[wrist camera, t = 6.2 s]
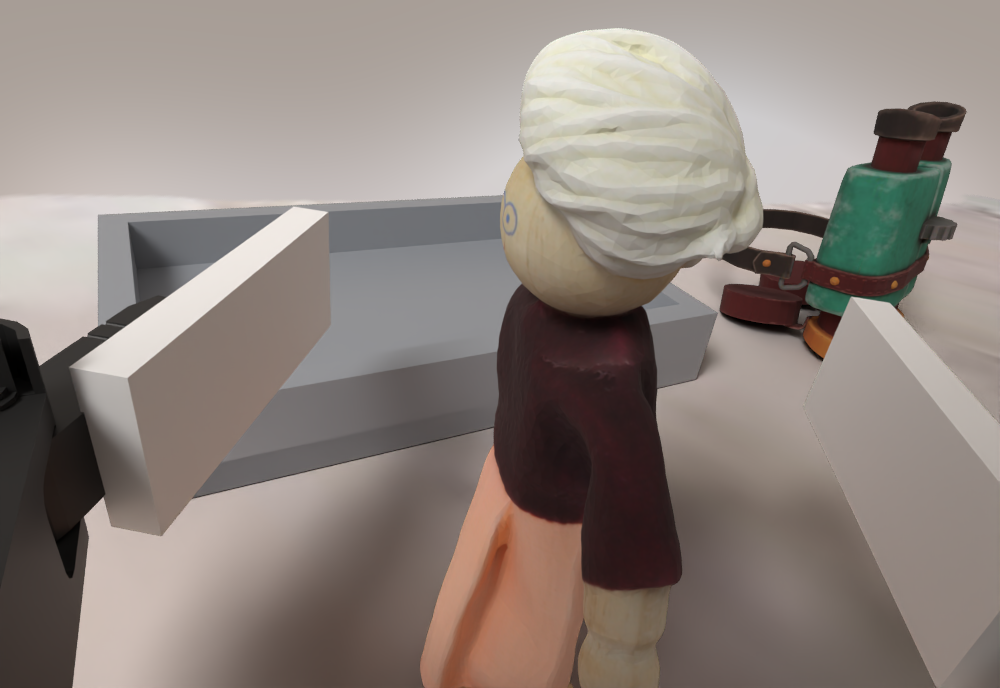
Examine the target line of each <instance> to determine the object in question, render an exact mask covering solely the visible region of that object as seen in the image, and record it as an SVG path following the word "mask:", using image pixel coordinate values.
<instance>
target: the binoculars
mask: <svg viewBox="0 0 1000 688" xmlns="http://www.w3.org/2000/svg"><path fill="white" fill-rule="evenodd" d="M965 114H966V109H965V108H964V107H961V106H960V105H956V104H952V103H948V102H925V103H919V104H916V105H913V106H911V107H909V108H908V109H884V110H880V111H879V112H878V116H877V120H876V124H875V129H874V134H875V135H878V136H879V139H878V143H877V146H876V150H875V153H874V156H873V160H872V162H871V163H865V164H859V165H855V166H852V167H850V168H848V169H847V171H846V174H845V176H844V178H843V180H842V183H841V186H840V189H839V192H838V195H837V198H836V201H835V204H834V207H833V210H832V213H831V216H830V219H827V218H823V217H820V216H816V215H811V214H806V213H802V212H797V211H787V210H776V209H763V227H762V228H777V229H786V230H794V231H798V232H803V233H807V234H811V235H815V236H818V237H821V238H823V240H822V243H821V246H820V249H819V252H818V255H817V258H816V259H814V255H813V253H812V251H811V250H810V249H808V248H807V247H805V246H803V245H801V244H799V243H797V242H792V243H791V244H790V245H789V246H788V247H787V251H786V253H781V252H773V251H765V250H760V249H756V248H752V247H747V248H746V249H744V250H742V251H739V252H736V253H731V254H729V253H725V254H724V255H723V257H722V259H723V260H725V261H727V262H729V263H730V264H732V265H734V266H736V267H739V268H743V269H746V270H750V271H753V272H755V274H761V275H760V284H759V286H754V285H744V284H728V285H725V286H724V290H723V295H722V300H721V305H720V311H721V312H723V313H725V314H727V315H729V316H732V317H736V318H739V319H744V320H748V321H753V322H759V323H766V324H775V325H784V326H786V327H789V328H793V329H797V330H799V329H803V328H805V329H804V332H803V337H804V339H805V341H806V342H807V344H808V345H809V346H810V348H811V349H812V350H814V351H815V352H816V353H817V354H818V355H820V356H821V357H822V358H824V357H825V355H826V353H827V351H828V348H829V346H830V344H831V341H832V339H833V337H834V335H835V332H836V330H837V328H838V325H839V323H840V321H841V319H842V316H843V314H844V312H845V310H846V307H847V305H848V303H849V300H850V298H851V297H857V298H863V299H869V300H875V301H881V302H888V303H890V304H891V305H892V306H893V307H894V308H895V309H896V310H897V311H898V312H899V313H900V315H901V316H902V317H903V318H904V314H903V313H902V312H901V311H900V310H899V309H898V308H897V307H898V304H899V302H900V301H901V299H903V298H904V297H906V296H907V295H908V294H909V293H910V292H911V290H912V289H913V287H914V284H915V281H916V278H917V275H918V274H920V273H921V272H922V271H923V270H924V267H925V265H926V262H927V260H928V259H929V250H928V244H930V242H931V240H942V241H943V240H947V239H949V240H950V239H952V237H953V235H954V232H955V229H956V227H957V223H955V222H953V221H952V220H948V219H945V218H943V217H937V214H938V211H939V207H940V204H941V201H942V198H943V194H944V191H945V188H946V185H947V181H948V178H949V174H950V170H951V161H950V160H949V159H946V158H943V156H944V153H945V150H946V148H947V145H948V142H949V139H950V136H951V133H952V132H957V131H959V129H960V126H961V124H962V122H963V119H964V117H965ZM793 247H794V248H797V249H799V250H801V251H803V252H805V253H806V254H807V256H808V258H807V260H805V262H804V261H795V258H796V256H795V255H793V254H792V250H793ZM808 304H809V305H811V306H812V307H814V308H816V309H819V310H821V311H820V315H819V316H808V317H807V318H806V321H805V323H804V324H803V325H802V324H798V323H797V322H798V317H799V313H800V309H801V305H808Z"/></svg>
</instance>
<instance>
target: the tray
mask: <svg viewBox="0 0 1000 688" xmlns="http://www.w3.org/2000/svg"><path fill="white" fill-rule="evenodd" d="M502 198H503V195H500V196H480V197H458V198H438V199H417V200H396V201H376V202H355V203H334V204H313V205H293V206H272V207H251V208H230V209H210V210H189V211H168V212H148V213H127V214H106V215H98V326H100V325H101V324H104V325H105V324H106V321H107V320H108V319H110V318H111V317H113V316H114V315H116V314H117V313H119V312H120V311H122V310H123V309H125V308H126V307H128V306H130V305H133V304H136V303H138V302H141V301H144V300H147V299H150V298H152V297H155V296H164V297H168V296H169V295H171V294H172V293H174V292H175V291H176V290H178V289H179V288H181V287H182V286H183V285H185V284H186V283H188V282H189V281H190V280H192V279H193V278H195V277H196V276H197V275H199V274H200V273H202V272H203V271H204V270H206V269H207V268H209V267H210V266H211V265H213V264H214V263H216V262H217V261H218V260H220V259H221V258H223V257H224V256H225V255H227V254H228V253H229V252H231V251H232V250H234V249H235V248H236V247H238V246H239V245H241V244H242V243H243V242H245V241H246V240H248V239H249V238H250V237H252V236H253V235H255V234H256V233H257V232H259V231H260V230H262V229H263V228H264V227H266V226H267V225H269V224H270V223H271V222H273V221H274V220H276V219H277V218H278V217H280V216H281V215H283V214H284V213H285V212H287V211H288V210H290V209H291V208H292V207H300V208H306V209H312V210H318V211H325V212H328V215H329V263H330V310H331V325H330V327H329V328H328V329H327V330H326V332H325V333H324V334H323V335H322V337H321V338H320V339H319V340H318V342H317V343H316V344H315V345H314V347H313V348H312V349H311V350H310V352H309V353H308V354H307V355H306V357H305V358H304V359H303V360H302V362H301V363H300V364H299V365H298V367H297V368H296V369H295V370H294V372H293V373H292V374H291V375H290V377H289V378H288V379H287V380H286V382H285V383H284V384H283V385H282V387H281V388H280V389H279V390H278V392H277V393H276V394H275V395H274V397H273V398H272V399H271V400H270V402H269V403H268V404H267V405H266V407H265V408H264V409H263V410H262V412H261V413H260V414H259V415H258V417H257V418H256V419H255V420H254V422H253V423H252V424H251V425H250V427H249V428H248V429H247V430H246V431H245V433H244V434H243V435H242V436H241V438H240V439H239V440H238V441H237V443H236V444H235V445H234V446H233V448H232V449H231V450H230V451H229V453H228V454H227V455H226V456H225V458H224V459H223V460H222V461H221V463H220V464H219V465H218V466H217V468H216V469H215V470H214V471H213V473H212V474H211V475H210V476H209V478H208V479H207V480H206V481H205V483H204V484H203V485H202V486H201V488H200V489H199V490H198V491H197V493H196V494H195V495H194V496H193V498H194V497H198V496H202V495H207V494H211V493H215V492H219V491H224V490H228V489H232V488H236V487H241V486H245V485H249V484H253V483H258V482H262V481H266V480H270V479H274V478H279V477H283V476H287V475H291V474H296V473H300V472H304V471H308V470H313V469H317V468H321V467H325V466H330V465H334V464H338V463H342V462H347V461H351V460H355V459H359V458H364V457H368V456H372V455H376V454H381V453H385V452H389V451H393V450H398V449H402V448H406V447H410V446H414V445H419V444H423V443H427V442H431V441H436V440H440V439H444V438H448V437H453V436H457V435H461V434H465V433H470V432H474V431H478V430H482V429H487V428H491V427H494V422H495V413H496V410H497V406H498V399H499V390H498V376H497V350H498V345H499V335H500V330H501V326H502V322H503V318H504V314H505V311H506V308H507V305H508V303H509V301H510V299H511V297H512V295H513V293H514V292H515V290H516V289H517V288H518V287H519V286H520V285H521V284H522V282H521V281H520V280H519V278H518V277H517V276H516V274H515V273H514V272H513V270H512V268H511V266H510V265H509V263H508V261H507V258H506V255H505V252H504V247H503V243H502V238H501V230H500V211H501V203H502ZM642 307H643V308H644V309H645V310H646V312H647V316H648V320H649V324H650V329H651V332H652V336H653V344H654V351H655V360H656V366H657V388H661V387H665V386H669V385H673V384H677V383H682V382H686V381H690V380H694V379H696V378H697V375H698V372H699V369H700V366H701V363H702V360H703V357H704V354H705V351H706V348H707V345H708V342H709V338H710V335H711V332H712V329H713V326H714V323H715V320H716V317H717V314H718V313H717V312H716V311H714V310H712V309H711V308H709V307H708V306H706V305H705V304H703V303H702V302H700V301H698V300H697V299H695V298H694V297H692V296H691V295H689V294H687V293H686V292H684V291H683V290H681V289H680V288H678V287H676V286H675V285H673V284H672V283H669V284H668V285H667V286H666V288H665V289H664V290H663V291H662V292H661V293H659V294H658V295H657V296H656V297H655V298H654V299H653V300H652V301H651V302H649V303H648V304H645V305H642Z"/></svg>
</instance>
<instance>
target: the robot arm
mask: <svg viewBox="0 0 1000 688" xmlns="http://www.w3.org/2000/svg"><path fill="white" fill-rule="evenodd" d="M330 325H331V310H330V263H329V215H328V212H325V211H318V210H312V209H306V208H300V207H292V208H291V209H290V210H288V211H287V212H285V213H284V214H283V215H281V216H280V217H278V218H277V219H276V220H274V221H273V222H271V223H270V224H269V225H267V226H266V227H264V228H263V229H262V230H260V231H259V232H257V233H256V234H255V235H253V236H252V237H250V238H249V239H248V240H246V241H245V242H243V243H242V244H241V245H239V246H238V247H236V248H235V249H234V250H232V251H231V252H229V253H228V254H227V255H225V256H224V257H223V258H221V259H220V260H218V261H217V262H216V263H214V264H213V265H211V266H210V267H209V268H207V269H206V270H204V271H203V272H202V273H200V274H199V275H197V276H196V277H195V278H193V279H192V280H190V281H189V282H188V283H186V284H185V285H183V286H182V287H181V288H179V289H178V290H176V291H175V292H174V293H172V294H171V295H169V296H168V297H164V296H155V297H152V298H150V299H147V300H144V301H141V302H138V303H136V304H133V305H130V306H128V307H126V308H125V309H123V310H122V311H120V312H119V313H117V314H116V315H114V316H113V317H111V318H110V319H108V320H107V321H106V324H105V325H104V324H101V325H100V326H98V327H97V328H95V329H94V330H92V331H91V332H89V333H88V336H87V337H82V338H80V339H79V340H77V341H76V342H74V343H73V344H71V345H70V346H68V347H67V348H65V349H64V350H62V351H61V352H60V353H58V354H57V355H55V356H54V357H52V358H51V359H49V360H48V361H46V362H45V363H43V364H42V365H40V366H39V364H38V361H37V358H36V354H35V351H34V347H33V344H32V341H31V337H30V334H29V330H28V328H26V327H25V326H23V325H21V324H20V323H18V322H16V321H10V320H5V319H0V688H72V686H73V676H74V667H75V658H76V649H77V640H78V631H79V622H80V612H81V603H82V594H83V585H84V576H85V567H86V557H87V548H88V539H89V536H88V531H87V527H86V523H85V520H84V516H85V515H86V514H87V513H88V512H89V511H90V510H91V509H92V508H93V507H94V506H95V505H96V504H97V503H98V502H99V501H100V500H101V499H102V497H104V500H105V504H106V508H107V512H108V515H109V519H110V523H111V526H112V527H117V528H122V529H127V530H132V531H137V532H142V533H147V534H152V535H157V536H162V535H163V534H164V533H165V531H166V530H167V529H168V528H169V526H170V525H171V524H172V523H173V521H174V520H175V519H176V518H177V516H178V515H179V514H180V513H181V511H182V510H183V509H184V508H185V506H186V505H187V504H188V503H189V501H190V500H191V499H192V498H193V496H194V495H195V494H196V493H197V491H198V490H199V489H200V488H201V486H202V485H203V484H204V483H205V481H206V480H207V479H208V478H209V476H210V475H211V474H212V473H213V471H214V470H215V469H216V468H217V466H218V465H219V464H220V463H221V461H222V460H223V459H224V458H225V456H226V455H227V454H228V453H229V451H230V450H231V449H232V448H233V446H234V445H235V444H236V443H237V441H238V440H239V439H240V438H241V436H242V435H243V434H244V433H245V431H246V430H247V429H248V428H249V427H250V425H251V424H252V423H253V422H254V420H255V419H256V418H257V417H258V415H259V414H260V413H261V412H262V410H263V409H264V408H265V407H266V405H267V404H268V403H269V402H270V400H271V399H272V398H273V397H274V395H275V394H276V393H277V392H278V390H279V389H280V388H281V387H282V385H283V384H284V383H285V382H286V380H287V379H288V378H289V377H290V375H291V374H292V373H293V372H294V370H295V369H296V368H297V367H298V365H299V364H300V363H301V362H302V360H303V359H304V358H305V357H306V355H307V354H308V353H309V352H310V350H311V349H312V348H313V347H314V345H315V344H316V343H317V342H318V340H319V339H320V338H321V337H322V335H323V334H324V333H325V332H326V330H327V329H328V328H329V327H330ZM803 408H804V410H805V413H806V415H807V417H808V419H809V421H810V423H811V425H812V427H813V429H814V431H815V434H816V436H817V438H818V440H819V442H820V444H821V446H822V448H823V450H824V453H825V455H826V457H827V459H828V461H829V463H830V465H831V467H832V469H833V472H834V474H835V476H836V478H837V480H838V482H839V484H840V486H841V488H842V491H843V493H844V495H845V497H846V499H847V501H848V503H849V505H850V507H851V509H852V512H853V514H854V516H855V518H856V520H857V522H858V524H859V526H860V528H861V531H862V533H863V535H864V537H865V539H866V541H867V543H868V545H869V547H870V550H871V552H872V554H873V556H874V558H875V560H876V562H877V564H878V566H879V569H880V571H881V573H882V575H883V577H884V579H885V581H886V583H887V585H888V587H889V590H890V592H891V594H892V596H893V598H894V600H895V602H896V604H897V606H898V609H899V611H900V613H901V615H902V617H903V619H904V621H905V623H906V625H907V628H908V630H909V632H910V634H911V636H912V638H913V640H914V642H915V644H916V647H917V649H918V651H919V653H920V655H921V657H922V659H923V661H924V663H925V666H926V668H927V670H928V672H929V674H930V676H931V678H932V680H933V682H934V684H935V687H936V688H1000V424H999V423H998V422H997V421H996V420H995V419H994V417H993V416H992V415H991V414H990V413H989V412H988V411H987V410H986V409H985V407H984V406H983V405H982V404H981V403H980V402H979V401H978V400H977V399H976V398H975V396H974V395H973V394H972V393H971V392H970V391H969V390H968V389H967V388H966V386H965V385H964V384H963V383H962V382H961V381H960V380H959V379H958V378H957V377H956V375H955V374H954V373H953V372H952V371H951V370H950V369H949V368H948V367H947V365H946V364H945V363H944V362H943V361H942V360H941V359H940V358H939V357H938V356H937V354H936V353H935V352H934V351H933V350H932V349H931V348H930V347H929V346H928V344H927V343H926V342H925V341H924V340H923V339H922V338H921V337H920V336H919V334H918V333H917V332H916V331H915V330H914V329H913V328H912V327H911V326H910V325H909V323H908V322H907V321H906V320H905V319H904V318H903V317H902V316H901V315H900V313H899V312H898V311H897V310H896V309H895V308H894V307H893V306H892V305H891V304H890V303H888V302H881V301H875V300H869V299H863V298H857V297H851V298H850V300H849V303H848V305H847V307H846V310H845V312H844V314H843V316H842V319H841V321H840V323H839V325H838V328H837V330H836V332H835V335H834V337H833V339H832V341H831V344H830V346H829V348H828V351H827V353H826V355H825V357H824V360H823V362H822V364H821V367H820V369H819V371H818V373H817V376H816V378H815V380H814V383H813V385H812V387H811V389H810V392H809V394H808V396H807V399H806V401H805V403H804V405H803Z"/></svg>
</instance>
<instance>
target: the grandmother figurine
mask: <svg viewBox="0 0 1000 688" xmlns="http://www.w3.org/2000/svg"><path fill="white" fill-rule="evenodd" d="M520 128H521V130H520V135H519V142H520V144H521V146H522V149H523V154H524V156H523V157H522V159H521V160H520V161H519V163H518V164H517V165H516V167H515V169H514V171H513V172H512V174H511V177H510V178H509V180H508V182H507V185H506V188H505V191H504V195H503V198H502V203H501V211H500V230H501V238H502V243H503V247H504V252H505V255H506V258H507V261H508V263H509V265H510V266H511V268H512V270H513V272H514V273H515V274H516V276H517V277H518V278H519V280H520V281H521V282H522V284H521V285H520V286H519V287H518V288H517V289H516V290H515V292H514V293H513V295H512V297H511V299H510V301H509V303H508V305H507V308H506V311H505V314H504V318H503V322H502V326H501V330H500V335H499V345H498V350H497V376H498V390H499V399H498V406H497V410H496V413H495V422H494V445H493V446H492V448H491V450H490V451H489V453H488V456H487V458H486V461H485V463H484V466H483V469H482V472H481V475H480V479H479V482H478V485H477V488H476V491H475V494H474V497H473V499H472V502H471V505H470V507H469V510H468V513H467V515H466V518H465V521H464V523H463V526H462V529H461V532H460V535H459V539H458V542H457V545H456V549H455V552H454V555H453V558H452V560H451V563H450V565H449V568H448V570H447V573H446V575H445V578H444V581H443V584H442V587H441V590H440V593H439V596H438V599H437V602H436V606H435V609H434V614H433V618H432V621H431V623H430V626H429V630H428V633H427V637H426V641H425V646H424V650H423V654H422V657H421V660H420V672H421V678H422V682H423V686H424V688H574V687H573V686H572V684H571V683H570V678H571V674H572V670H573V663H574V658H575V647H576V643H577V639H578V635H579V632H580V629H581V625H582V622H583V619H584V620H585V623H586V626H587V629H588V633H587V636H586V638H585V640H584V642H583V644H582V646H581V649H580V652H579V656H578V677H579V683H580V685H581V687H582V688H658V685H659V676H660V666H659V659H658V655H657V651H656V643H657V642H658V640H659V639H660V637H661V636H662V634H663V632H664V630H665V624H666V616H667V609H668V601H669V593H670V588H671V586H672V585H674V584H676V583H677V582H678V581H679V580H680V578H681V575H682V560H681V551H680V544H679V540H678V536H677V532H676V527H675V521H674V515H673V510H672V505H671V500H670V495H669V490H668V484H667V479H666V474H665V464H664V458H663V452H662V446H661V441H660V436H659V432H658V426H657V421H656V397H657V366H656V360H655V351H654V344H653V336H652V332H651V329H650V324H649V320H648V316H647V312H646V310H645V309H644V308H643V307H642V305H645V304H648V303H649V302H651V301H652V300H653V299H654V298H655V297H656V296H657V295H658V294H659V293H661V292H662V291H663V290H664V289H665V288H666V286H667V285H668V284H669V283H670V282H671V281H672V280H673V278H674V277H675V276H676V275H677V273H678V272H679V270H680V269H681V268H690V267H692V266H694V265H696V264H697V263H698V262H700V261H701V259H702V258H716V259H717V260H718V261H719V260H722V257H723V255H724V254H725V253H729V254H731V253H736V252H739V251H742V250H744V249H746V248H747V247H748V246H749V245H750V244H751V243H752V242H753V241H754V239H755V238H756V236H757V235H758V233H759V232H760V230H761V229H762V227H763V206H762V202H761V199H760V196H759V192H758V187H757V179H756V174H755V170H754V168H753V166H752V165H751V163H750V161H749V160H748V158H747V156H746V154H745V146H744V140H743V134H742V131H741V127H740V124H739V121H738V118H737V116H736V114H735V112H734V109H733V107H732V105H731V103H730V101H729V99H728V97H727V95H726V94H725V92H724V90H723V89H722V88H721V87H720V86H719V84H718V83H717V82H716V81H715V79H714V78H713V76H712V75H711V74H710V72H709V71H708V70H707V69H706V68H705V67H704V66H703V65H702V64H701V63H700V62H699V61H698V60H697V59H696V58H695V57H694V56H693V55H692V54H691V53H689V52H688V51H686V50H685V49H683V48H682V47H681V46H679V45H678V44H676V43H675V42H673V41H671V40H668V39H666V38H664V37H661V36H658V35H655V34H652V33H646V32H641V31H638V30H630V29H623V28H613V29H602V30H601V29H600V30H587V31H582V32H578V33H574V34H571V35H568V36H564V37H562V38H559V39H557V40H555V41H553V42H551V43H550V44H548V45H547V46H546V47H545V48H544V49H543V50H542V51H541V52H540V53H539V54H538V55H537V56H536V58H535V59H534V61H533V63H532V65H531V66H530V68H529V70H528V72H527V74H526V77H525V81H524V85H523V90H522V96H521V107H520Z"/></svg>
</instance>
